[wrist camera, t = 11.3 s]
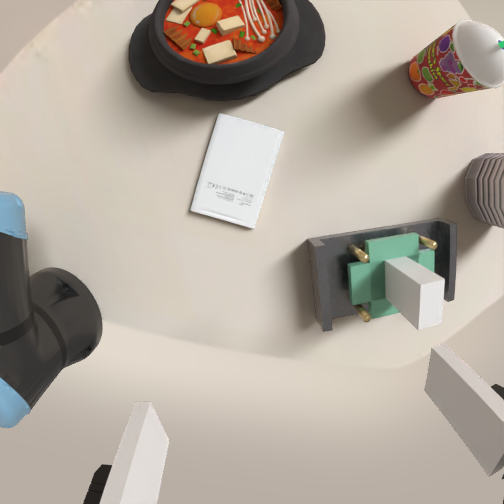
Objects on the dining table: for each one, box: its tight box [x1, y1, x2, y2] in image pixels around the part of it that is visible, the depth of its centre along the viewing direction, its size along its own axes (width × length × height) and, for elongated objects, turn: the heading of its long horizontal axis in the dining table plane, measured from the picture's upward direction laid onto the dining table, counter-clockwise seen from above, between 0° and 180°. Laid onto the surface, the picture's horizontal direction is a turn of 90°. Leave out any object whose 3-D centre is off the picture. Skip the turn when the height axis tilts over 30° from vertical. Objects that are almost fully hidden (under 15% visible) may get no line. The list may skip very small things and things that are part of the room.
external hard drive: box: [190, 113, 284, 229], centre depth 37 cm, size 2×8×12 cm
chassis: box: [308, 218, 457, 332], centre depth 37 cm, size 20×11×6 cm, turn 99°
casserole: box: [129, 0, 325, 101], centre depth 29 cm, size 25×19×8 cm
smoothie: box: [409, 19, 504, 98], centre depth 24 cm, size 8×8×20 cm
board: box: [347, 232, 445, 330], centre depth 32 cm, size 12×10×10 cm
